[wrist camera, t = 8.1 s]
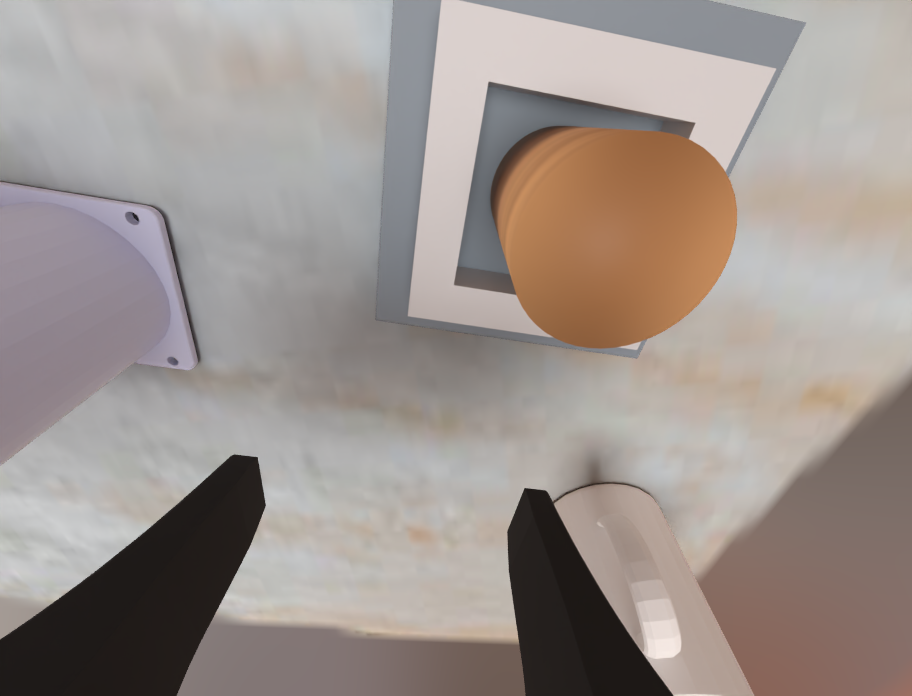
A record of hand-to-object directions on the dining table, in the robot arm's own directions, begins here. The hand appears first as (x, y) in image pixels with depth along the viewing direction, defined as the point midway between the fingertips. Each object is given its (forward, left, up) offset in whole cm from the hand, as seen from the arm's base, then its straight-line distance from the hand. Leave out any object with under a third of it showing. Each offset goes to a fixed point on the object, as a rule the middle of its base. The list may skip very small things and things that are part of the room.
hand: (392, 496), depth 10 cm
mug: (+13, -11, -10) cm, 20 cm away
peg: (+4, +7, -8) cm, 11 cm away
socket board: (+4, +7, -9) cm, 12 cm away
